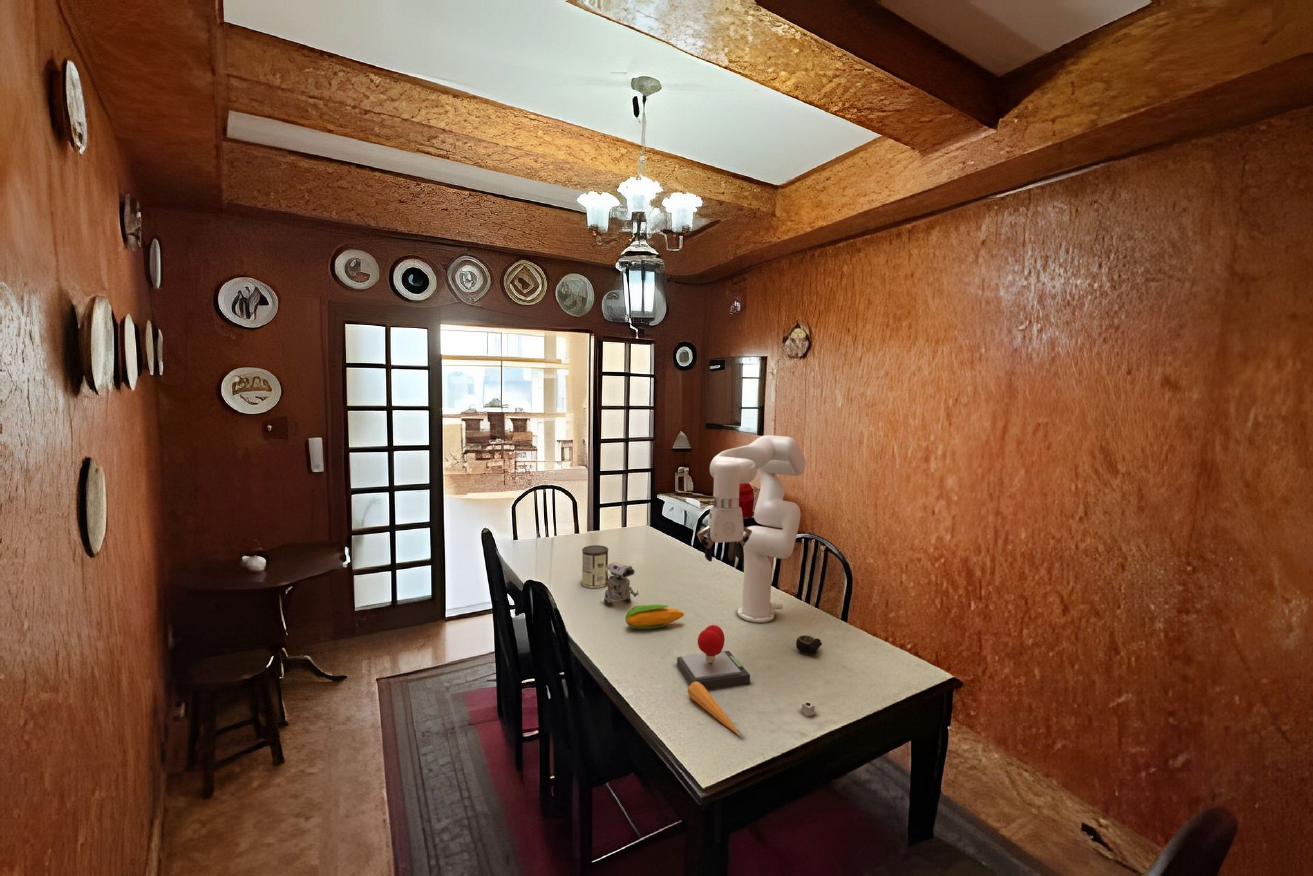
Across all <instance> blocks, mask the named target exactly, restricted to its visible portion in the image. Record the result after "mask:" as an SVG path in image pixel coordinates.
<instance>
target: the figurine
mask: <svg viewBox="0 0 1313 876" xmlns="http://www.w3.org/2000/svg"><path fill="white" fill-rule="evenodd" d="M607 569H608V571H609V572H610V575H609V574H608V575H607V576H606V578H605V579H606V580H605V585H606V586H607V589H606V590H605V591H604V599H603V602H604V604H605V605H607V606H608V607H611V606H613V602H612V601H616V602H617V601H618V602H619V601H625V602H626V603H631V602H632V598H631V594H632V595H633V597H634V598H636V597H637V596H639V595H640V594H639V591H638V590H637V591H636V592H635V591H634V590H633V589H632V587H631V586H630V583H631V580H630V579H629V577H631V576H634V575H635V569H634V568H633V567H632V566H631V565H626V564H624V563H623V564H622V563H619V562H616V561H614V562H611V563H608V566H607Z"/></svg>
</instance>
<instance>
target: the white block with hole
mask: <svg viewBox="0 0 1313 876" xmlns="http://www.w3.org/2000/svg"><path fill="white" fill-rule="evenodd" d="M815 709H816V706H815V704H812V702H810V701H809V700H808V701H806V702H803V703H801V713H802V714H804V715H805V716H806V717H811V716H815V711H816V710H815Z"/></svg>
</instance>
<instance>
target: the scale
mask: <svg viewBox="0 0 1313 876" xmlns="http://www.w3.org/2000/svg"><path fill="white" fill-rule="evenodd" d="M676 658H677V659H676V666H677V668H678V669H679V671H680V672H681V674H682V675H683V677H684V678H685V681H686V682H687V683H688V685H689V686H690V685H691V683H693V682H696V681H697V682H699V683H701V684H702V685H703V686H704V687H705V688H706V690H707V691H708V690H709V691H710V690H715V689H716V690H717V689H723V688H728V687H735V686H736V687H737V686H743V685H750V684H751V674H750V673H749V671H747V669H746V668H745V667H744V665H743V664H742V663H741V662H740V661H739V659H738V658H737V657H736V656H735V655H733V653H731V651H730V650H722V651H721V653H720V654H718V655H715V662H713V663H712V664H709V663H708V662H707V661H706V653H704V652H701V653H693V654H685V655H684V654H683V655H680V656H677V657H676Z"/></svg>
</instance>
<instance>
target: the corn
mask: <svg viewBox="0 0 1313 876" xmlns="http://www.w3.org/2000/svg"><path fill="white" fill-rule="evenodd" d="M684 615H685V613H684V612H682V611H681V610H680V609H677V608H669V605H666V604H648V605H646V604H645V605H637V606H634V607H632V608H631V609H629V610H628V611H627V612H626V614H625V624H627V625H628V626H629V627H631V628H632V629H635V630H636V629H637V630H650V629H658V628H664V627H667V625H669V624H672V623H674V622H676V621H678V620H680V619H681V618H683V617H684Z"/></svg>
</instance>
